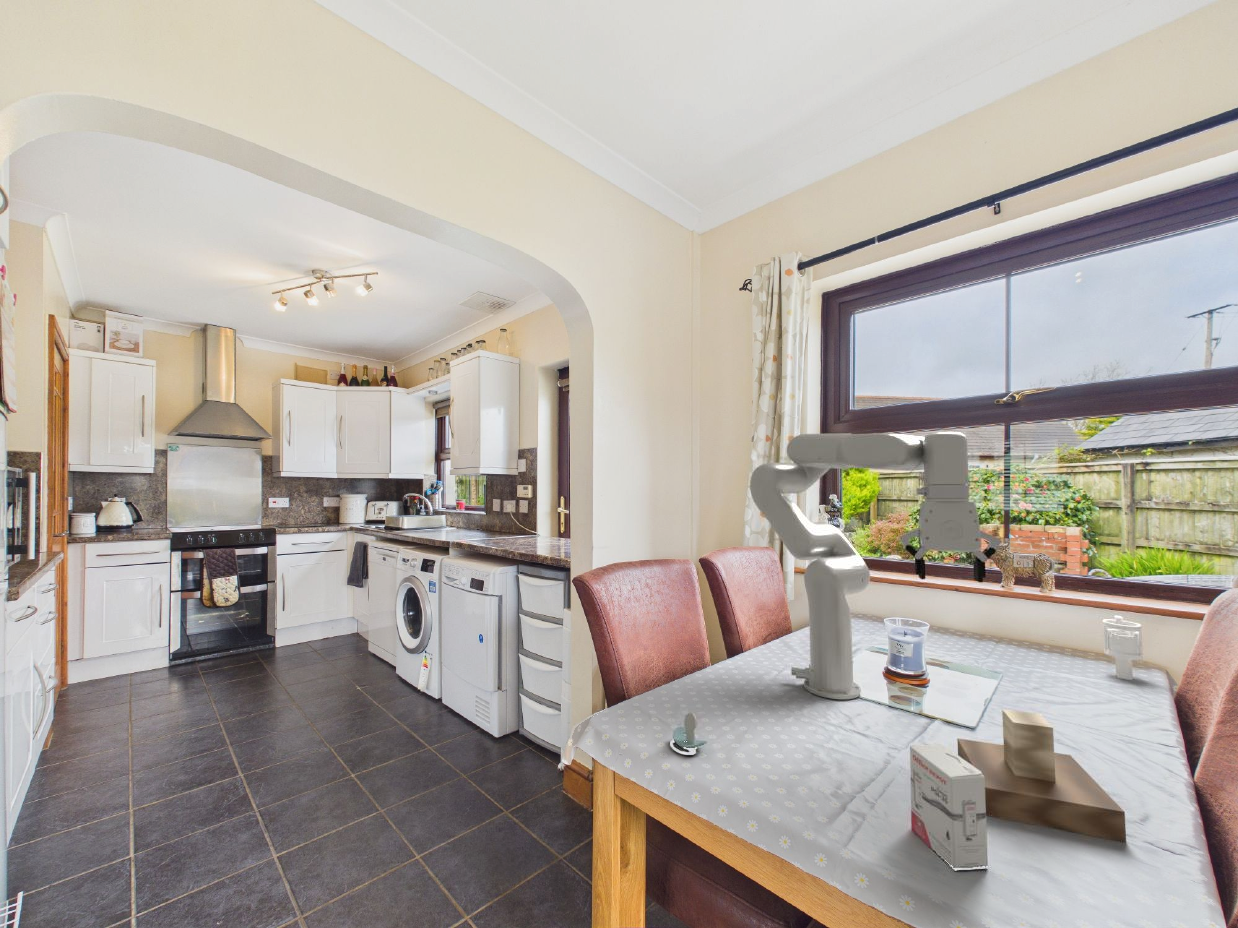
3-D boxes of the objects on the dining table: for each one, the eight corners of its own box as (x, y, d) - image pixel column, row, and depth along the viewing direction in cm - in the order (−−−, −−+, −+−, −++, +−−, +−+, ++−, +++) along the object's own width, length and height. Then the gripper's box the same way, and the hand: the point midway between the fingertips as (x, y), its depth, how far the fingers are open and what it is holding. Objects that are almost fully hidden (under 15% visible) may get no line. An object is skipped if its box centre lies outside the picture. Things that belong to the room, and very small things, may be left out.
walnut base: (986, 815, 75) (985, 787, 75) (958, 761, 90) (957, 738, 90) (1126, 841, 69) (1124, 811, 69) (1071, 779, 84) (1070, 754, 84)
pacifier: (685, 762, 90) (711, 752, 93) (684, 727, 90) (710, 718, 93) (661, 745, 96) (686, 736, 100) (660, 711, 97) (685, 704, 100)
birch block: (1015, 775, 78) (1013, 722, 79) (1004, 759, 83) (1002, 709, 83) (1055, 781, 76) (1053, 727, 77) (1042, 764, 81) (1039, 714, 82)
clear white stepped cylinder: (1139, 675, 130) (1135, 617, 131) (1148, 684, 124) (1145, 623, 125) (1102, 670, 134) (1099, 613, 135) (1109, 679, 128) (1106, 619, 129)
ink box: (909, 827, 72) (906, 742, 73) (941, 825, 73) (938, 741, 73) (954, 873, 64) (950, 776, 64) (990, 870, 64) (986, 774, 65)
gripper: (900, 494, 101) (903, 580, 101) (1004, 494, 95) (1008, 586, 94) (895, 493, 108) (897, 574, 107) (992, 493, 102) (995, 579, 101)
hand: (949, 579), depth 101 cm, fingers open, 9 cm apart
